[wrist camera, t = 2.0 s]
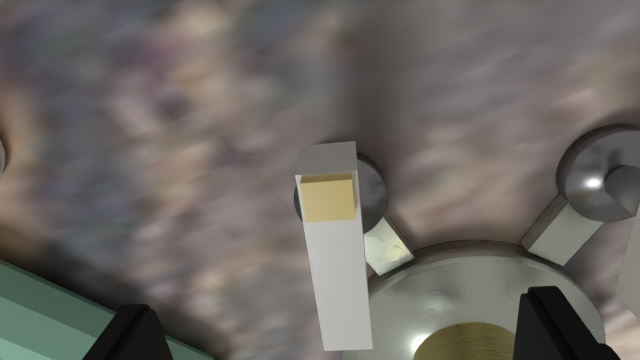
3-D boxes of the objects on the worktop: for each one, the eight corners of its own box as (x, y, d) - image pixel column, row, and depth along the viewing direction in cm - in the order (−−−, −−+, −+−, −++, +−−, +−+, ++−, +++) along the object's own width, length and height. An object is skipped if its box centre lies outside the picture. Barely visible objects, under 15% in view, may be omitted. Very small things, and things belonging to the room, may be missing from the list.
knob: (366, 269, 23) (373, 358, 17) (329, 271, 23) (324, 360, 17) (354, 120, 19) (357, 176, 13) (308, 124, 19) (293, 181, 13)
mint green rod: (210, 446, 24) (-266, 257, 18) (186, 447, 28) (-208, 293, 23) (246, 350, 28) (-137, 170, 22) (220, 363, 32) (-108, 215, 27)
